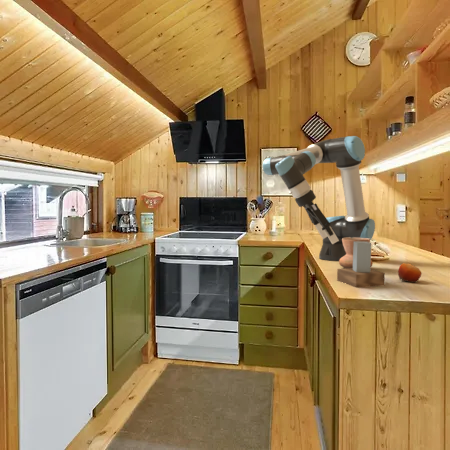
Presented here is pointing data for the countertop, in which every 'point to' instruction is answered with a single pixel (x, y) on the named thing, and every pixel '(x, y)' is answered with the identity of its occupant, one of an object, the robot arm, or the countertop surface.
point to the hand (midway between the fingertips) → (330, 239)
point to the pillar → (361, 256)
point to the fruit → (409, 273)
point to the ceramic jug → (350, 251)
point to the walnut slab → (360, 277)
